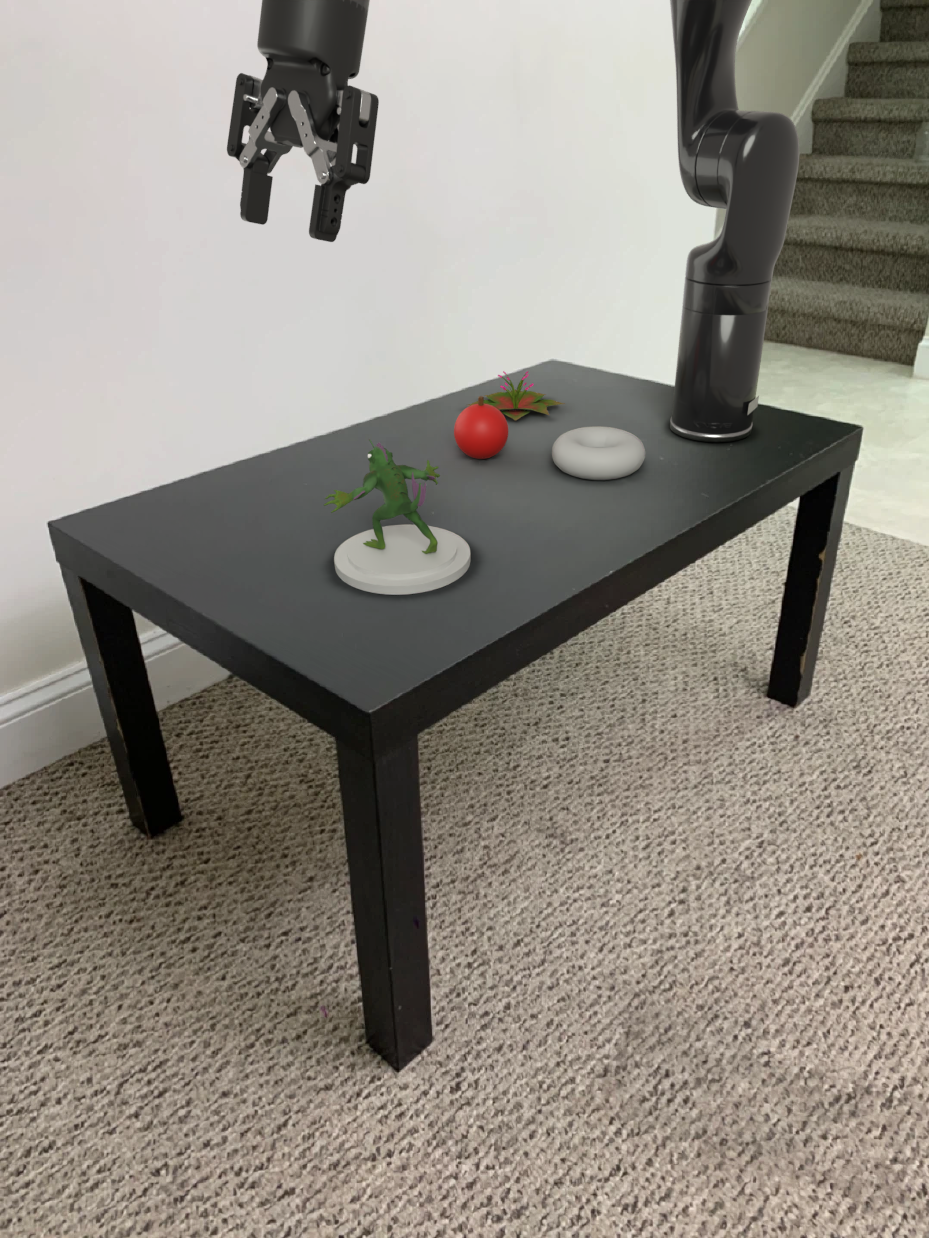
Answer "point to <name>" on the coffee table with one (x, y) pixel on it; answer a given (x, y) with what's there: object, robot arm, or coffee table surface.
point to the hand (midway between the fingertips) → (286, 231)
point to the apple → (481, 430)
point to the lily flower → (518, 400)
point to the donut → (598, 453)
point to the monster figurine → (398, 536)
